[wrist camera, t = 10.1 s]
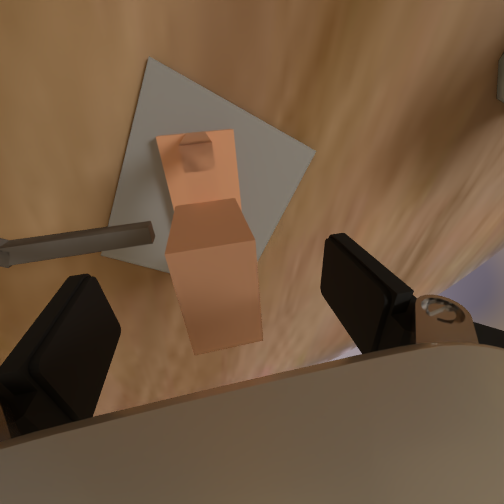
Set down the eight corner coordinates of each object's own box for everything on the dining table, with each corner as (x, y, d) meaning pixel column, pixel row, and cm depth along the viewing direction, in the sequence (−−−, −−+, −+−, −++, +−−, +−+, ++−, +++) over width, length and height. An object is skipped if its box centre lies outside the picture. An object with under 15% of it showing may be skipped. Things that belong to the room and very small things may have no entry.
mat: (149, 57, 17) (148, 56, 17) (314, 150, 23) (316, 151, 23) (102, 253, 24) (100, 255, 23) (241, 289, 29) (241, 291, 29)
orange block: (157, 135, 19) (77, 174, 6) (231, 128, 20) (299, 149, 7) (185, 248, 25) (173, 399, 11) (243, 239, 25) (294, 370, 12)
